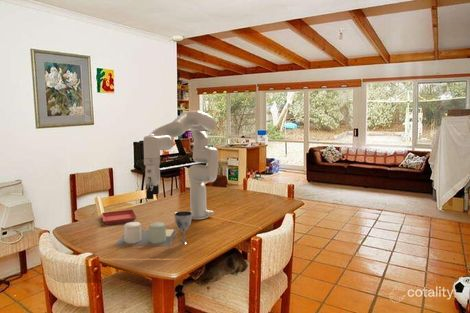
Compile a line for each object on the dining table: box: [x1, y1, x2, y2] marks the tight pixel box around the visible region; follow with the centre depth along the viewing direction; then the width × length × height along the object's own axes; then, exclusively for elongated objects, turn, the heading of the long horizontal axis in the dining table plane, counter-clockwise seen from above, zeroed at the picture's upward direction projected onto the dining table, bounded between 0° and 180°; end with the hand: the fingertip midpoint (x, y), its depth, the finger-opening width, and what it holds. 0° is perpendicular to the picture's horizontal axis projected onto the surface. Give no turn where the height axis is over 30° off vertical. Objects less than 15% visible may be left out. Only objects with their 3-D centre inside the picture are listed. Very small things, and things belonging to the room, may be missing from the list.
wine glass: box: [174, 210, 193, 245], centre depth 156 cm, size 8×8×15 cm
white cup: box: [123, 221, 142, 243], centre depth 159 cm, size 8×8×8 cm
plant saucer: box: [101, 209, 137, 226], centre depth 193 cm, size 18×18×3 cm
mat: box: [114, 228, 178, 246], centre depth 164 cm, size 26×21×1 cm
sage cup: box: [148, 221, 167, 243], centre depth 159 cm, size 8×8×8 cm
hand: (152, 196), depth 160 cm, fingers open, 9 cm apart
